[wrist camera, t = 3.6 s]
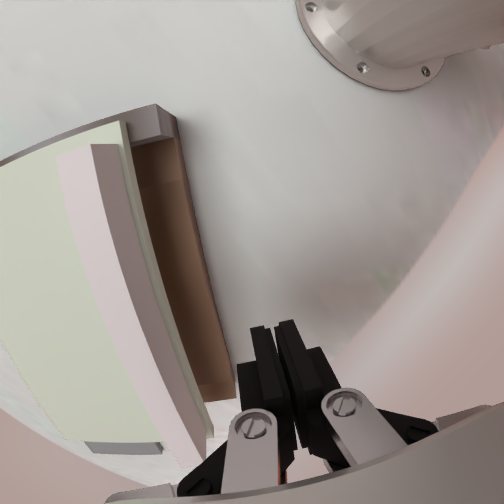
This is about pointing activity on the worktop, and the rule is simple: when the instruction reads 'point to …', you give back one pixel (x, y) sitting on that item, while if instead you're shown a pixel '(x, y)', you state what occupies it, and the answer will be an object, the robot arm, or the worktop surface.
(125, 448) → the mat
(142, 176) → the puzzle board
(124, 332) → the sliding lid
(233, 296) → the worktop surface
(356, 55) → the robot arm
